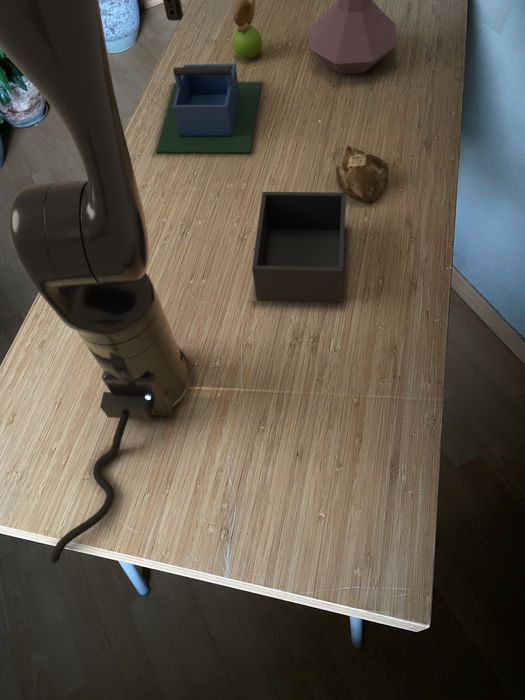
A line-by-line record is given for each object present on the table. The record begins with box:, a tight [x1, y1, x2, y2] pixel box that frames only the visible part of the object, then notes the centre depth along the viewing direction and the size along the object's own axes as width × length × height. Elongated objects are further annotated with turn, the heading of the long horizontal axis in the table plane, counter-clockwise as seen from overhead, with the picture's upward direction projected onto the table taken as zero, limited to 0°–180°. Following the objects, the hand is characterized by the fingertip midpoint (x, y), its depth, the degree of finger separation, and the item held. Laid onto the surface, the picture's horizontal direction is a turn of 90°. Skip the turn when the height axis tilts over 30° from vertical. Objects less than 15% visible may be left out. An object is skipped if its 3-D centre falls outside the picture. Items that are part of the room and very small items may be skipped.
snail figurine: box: [231, 0, 263, 59], centre depth 106 cm, size 5×6×12 cm
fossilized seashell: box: [335, 145, 390, 203], centre depth 90 cm, size 8×7×10 cm
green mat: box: [155, 81, 262, 155], centre depth 103 cm, size 18×16×1 cm
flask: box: [308, 0, 398, 75], centre depth 99 cm, size 16×16×20 cm
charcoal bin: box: [251, 191, 347, 304], centre depth 82 cm, size 14×12×8 cm
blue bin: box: [173, 63, 240, 137], centre depth 99 cm, size 11×10×9 cm
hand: (181, 1), depth 84 cm, fingers open, 8 cm apart
